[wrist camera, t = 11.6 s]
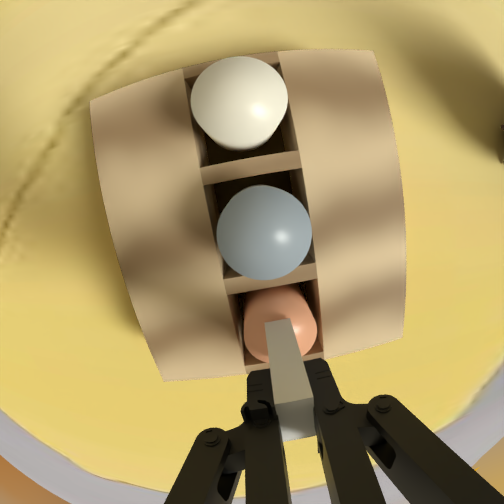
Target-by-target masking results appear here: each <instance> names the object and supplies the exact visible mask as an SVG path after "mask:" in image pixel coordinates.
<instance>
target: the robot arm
mask: <svg viewBox="0 0 504 504" xmlns="http://www.w3.org/2000/svg"><path fill="white" fill-rule="evenodd" d="M264 324H265V332H266V340H267V348H268V356H269V364H270V368H268V369H262V370H255V371H251V372H250V374H249V375H248V377H247V402H245V404H244V405H243V406H242V408H241V414H242V417H243V420H244V422H243V423H242V424H241V425H240V426H238V427H236V428H234V429H231V430H228V431H224V430H223V429H220V428H209V429H205V430H204V431H202V432H201V433H199V435H198V436H197V438H196V440H195V442H194V444H193V446H192V448H191V450H190V452H189V454H188V456H187V458H186V460H185V462H184V464H183V467H182V469H181V471H180V473H179V475H178V477H177V479H176V481H175V483H174V485H173V487H172V489H171V491H170V493H169V495H168V497H167V499H166V501H165V503H164V504H231V503H232V500H233V497H234V494H235V491H236V488H237V485H238V482H239V479H240V475H241V472H242V470H244V469H245V487H246V504H292V501H291V494H290V487H289V479H288V472H287V465H286V458H285V451H284V446H283V442H284V441H290V440H296V439H301V438H306V437H311V436H316V435H317V441H318V453H320V457H321V461H322V465H323V469H324V473H325V478H326V482H327V486H328V491H329V495H330V499H331V504H386V502H385V499H384V496H383V494H382V491H381V488H380V485H379V483H378V480H377V477H376V475H375V472H374V469H373V467H372V464H371V461H370V459H369V456H368V454H367V452H368V453H369V454H370V455H371V457H372V458H373V459H374V460H375V462H376V463H377V464H378V465H379V467H380V468H381V469H382V470H383V471H384V473H385V474H386V475H387V476H388V478H389V479H390V480H391V481H392V482H393V484H394V485H395V486H396V487H397V488H398V490H399V491H400V492H401V493H402V494H403V496H404V497H405V498H406V499H407V500H408V501H409V503H410V504H504V496H503V495H501V494H500V493H499V492H498V491H497V490H496V489H495V488H494V487H492V486H491V485H490V484H489V483H488V482H487V481H486V480H485V479H483V478H482V477H481V476H480V475H479V474H478V473H477V472H476V471H475V470H474V469H472V468H471V467H470V466H469V465H468V464H467V463H466V462H465V461H464V460H463V459H461V458H460V457H459V456H458V455H457V454H456V453H455V452H454V451H453V450H452V449H450V448H449V447H448V446H447V445H446V444H445V443H444V442H443V441H442V440H441V439H440V438H438V437H437V436H436V435H435V434H434V433H433V432H432V431H431V430H430V429H429V428H428V427H426V426H425V425H424V424H423V423H422V422H421V421H420V420H419V419H418V418H417V417H416V416H415V415H413V414H412V413H411V412H410V411H409V410H408V409H407V408H406V407H405V406H404V405H403V404H402V403H400V402H399V401H398V400H397V399H396V398H395V397H393V396H391V395H378V396H376V397H374V398H373V399H371V400H370V402H369V403H368V404H352V403H349V402H347V401H345V400H344V399H343V398H342V397H341V395H340V392H339V390H338V387H337V385H336V383H335V380H334V378H333V376H332V373H331V371H330V368H329V366H328V363H327V362H326V361H325V360H323V359H322V358H316V359H312V360H307V361H303V360H302V356H301V353H300V349H299V346H298V343H297V339H296V336H295V333H294V330H293V326H292V323H291V320H290V318H287V319H282V320H276V321H271V322H265V323H264ZM366 450H367V451H366Z"/></svg>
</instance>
